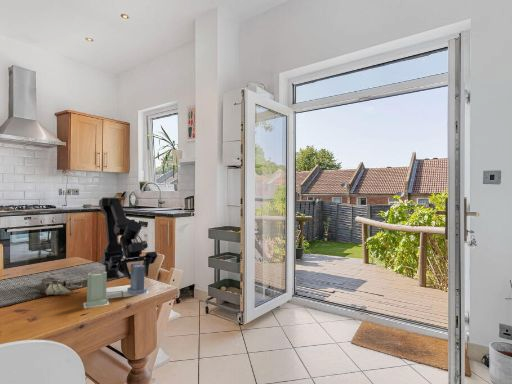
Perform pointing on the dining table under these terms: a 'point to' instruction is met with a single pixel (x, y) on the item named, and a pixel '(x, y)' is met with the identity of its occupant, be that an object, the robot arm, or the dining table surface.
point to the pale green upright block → (96, 289)
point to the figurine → (54, 286)
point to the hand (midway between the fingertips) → (138, 277)
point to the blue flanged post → (137, 279)
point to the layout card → (115, 294)
